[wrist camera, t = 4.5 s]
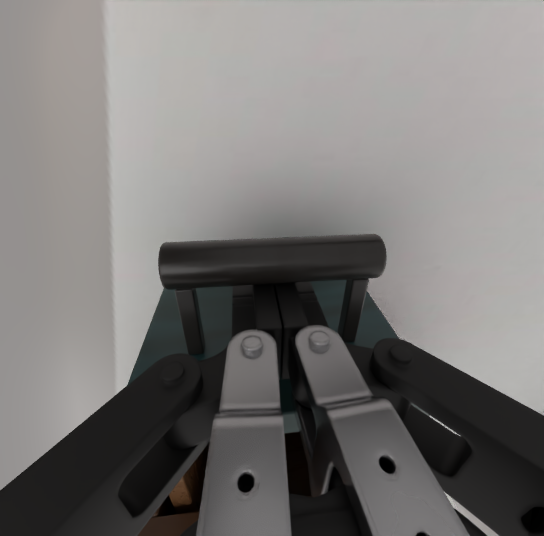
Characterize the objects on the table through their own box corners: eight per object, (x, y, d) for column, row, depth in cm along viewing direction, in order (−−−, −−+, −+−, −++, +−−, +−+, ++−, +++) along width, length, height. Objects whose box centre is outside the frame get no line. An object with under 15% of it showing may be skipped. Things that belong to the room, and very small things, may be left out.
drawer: (145, 197, 12) (42, 313, 6) (369, 192, 13) (501, 283, 7) (198, 424, 22) (182, 566, 15) (327, 410, 23) (365, 538, 16)
